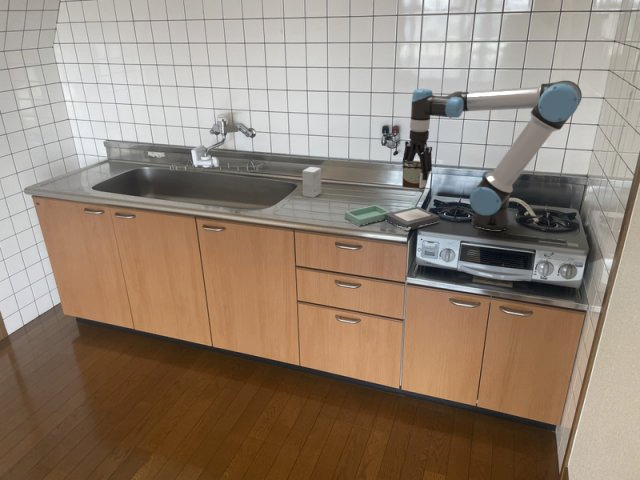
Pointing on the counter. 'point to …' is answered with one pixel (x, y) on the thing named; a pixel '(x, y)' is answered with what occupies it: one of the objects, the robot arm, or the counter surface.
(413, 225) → the base
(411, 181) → the food container
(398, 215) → the checker plate
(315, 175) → the small box
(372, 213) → the trough tray
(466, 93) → the robot arm
